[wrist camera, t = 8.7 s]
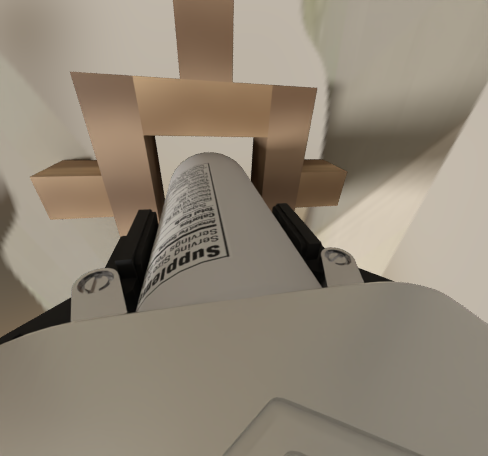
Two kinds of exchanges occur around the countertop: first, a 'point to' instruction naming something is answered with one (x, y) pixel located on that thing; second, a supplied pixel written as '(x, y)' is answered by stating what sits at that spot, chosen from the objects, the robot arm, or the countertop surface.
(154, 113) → the cross socket stand
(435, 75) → the countertop surface
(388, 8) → the countertop surface
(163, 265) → the energy drink can
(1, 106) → the countertop surface
